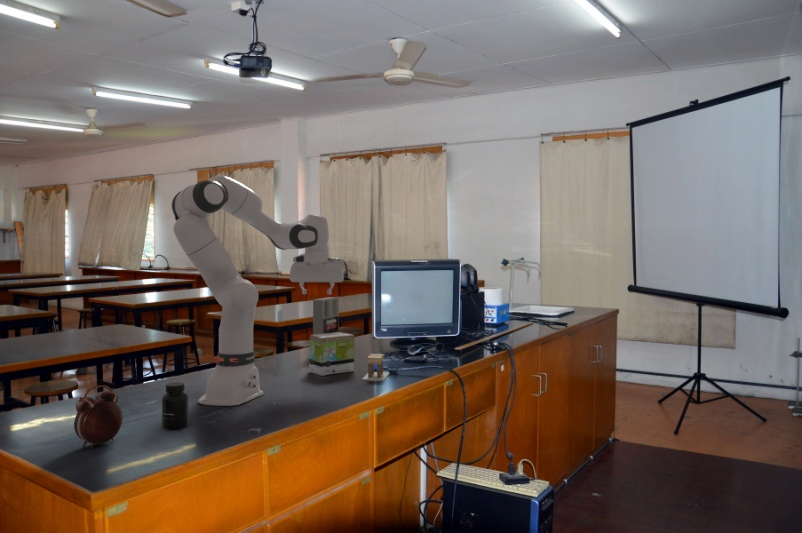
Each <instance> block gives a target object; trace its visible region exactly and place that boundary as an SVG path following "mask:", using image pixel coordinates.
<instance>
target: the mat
mask: <svg viewBox="0 0 802 533" xmlns="http://www.w3.org/2000/svg"><path fill="white" fill-rule="evenodd" d="M389 376H390V372H385V371H383V374H382V375H381V377H380V378H377V371H374V374H372V377H368V372H367V373H366V374H365V375H364V377H362V381H370V382H371V381H372V382H384V381H385V380H386V379H387V378H388V377H389Z"/></svg>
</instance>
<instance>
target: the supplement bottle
mask: <svg viewBox="0 0 802 533" xmlns="http://www.w3.org/2000/svg"><path fill="white" fill-rule="evenodd" d="M165 392H166V393H164V394H163V395H162V397H161V428H162V429H164V430H166V431H178V430H183V429H185V428H187V427H188V424H189V395H188V393H187V392H185V383H184V382H180V381H177V382H175V381H174V382H168V383H166V384H165Z"/></svg>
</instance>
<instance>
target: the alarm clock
mask: <svg viewBox="0 0 802 533" xmlns="http://www.w3.org/2000/svg"><path fill="white" fill-rule="evenodd" d="M102 387H103V388H106V389H107V390H106V391H104V392H102V393H101V394H100V395H99V396H95V399H94V398H93V397H90V396H88V394H89V392H90V391H92V390H95V389H98V388H102ZM118 401H119V396H118V394H117V393H116V392H115V390H114V388H111V387H110V386H108V384H107V385H106V384H101V385H95V386H93V387H91V388H89V389H87V391H85V394H84V396H83V397H82V396H80V397H79V400H77V402H75V403H76V404H75V410H76V414H75V416H74V421H73V422H74V423H73V427H74V428H73V429H74V431H75V434H76V436H77V437H78V438H79V439H81V440H82V441H84V443H83V446H82V448H84V449H85V447H86V445H87V444H88V443H89V444H91V446H90V449H93V446H94V445H95V444H96V445H102V444H105V443H108V442H109V441H111V440H112V442H115V441H116V439H114V438H115V436H116V435H117V434H118V433H119V431H120V429H121V427H122V423H123V411H122V410H121V409H122V408H120V406H119V405H118V404H117V403H118Z"/></svg>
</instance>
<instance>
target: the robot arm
mask: <svg viewBox="0 0 802 533" xmlns="http://www.w3.org/2000/svg"><path fill="white" fill-rule="evenodd" d="M220 209H221V210H223V211H224V212H226V213H228V214H230V215H231V216H232V217H234V218H236V219H239V220H240V221H242V222H245V223H246V224H249V225H250V226H251V227H253V228H255V229H256V230H258V231H259V232H260V233H262V234H264V235H265V236H266V237H267V238H268V240H270V242H271V243H272V245H273V246H274V247H275V248H277V249H279V250H282V251H285V250H302V249H304V253H301V254H299V255H296V256H294V257H292V262H293V263H292V264H291V266H290V270H289V271H290V272H289V280H290V281H291V282H292V283H299V287H300V289H301V293H302V295H306V294H308V293H307V291H308V290H307V289H306V288H304V284H305V283H329V285H330V287H329V288H328V289H327V290H326V295H332V290H333V288H334V286H335V283H342V282H344V279H345V278H344V269H345V261H344V260H343V259H342V258H340V257H329V256H330V255H329V246H328V243H329V242H328V241H329V238H330V237H329V224H328V220H327V218H326V217H324V216H322V215H320V214H307V215H306V216H305V217H304V218H302V219H301V220H299V221H295V223H294V222H293V223H286V222H283V223H281V222H278V221H277V220H275V219H273V218H271V217H270V216H268V215H267V214H265V212H263V211H262V209H263V200H262V197H260V196H259V194H258V193H257V192H256V191H254V190H253V189H251V188H249V187H248V186H246V185H245V184H243V183H242V182H239V181H238V180H235V179H234V178H231V177H229V176H226V175H224V174H223V175H221V174H220V175H219V174H218V175H217V176H215V177H213V178H212V179H211V180H210V179H205V180H200V181H198V182H196V183H195V184H190V185H188V186H187V187H185V188H184V189H182V190H181V191H178V193H176V194H175V195H174V197H173V199H172V200H171V211H172V213H173V215H174V219H175V223H174V225H173V232H174V234H175V237H176V239H177V242H178V244H179V246H180V247H181V248H182V250H183V252H184V253H185V255H186V256H187V258H188V259H189V260H190V262H191V263H192V265H193V266H194V267H195V269H196V270H197V272H198V273H199V274H200V276H201V277H202V279H203V281H204V282H205V284H206V286H207V287H208V289H209V291H210V293H211V294H212V295H213V297H214V299H215V300H216V301H217V303H218V304H219V305H220V306H221V307H222V308H221V309H222V310H221V317H220V324H219V328H218V353H217V355H216V356H213V359H212V362H213V363H215V364H216V366H215V367H214V370H213V371H212V372H211V375H210V376H209V379H208V380H207V381H206V383H205V384H206V386H205V393H204V394H203V395H201V397H200V398H199V399H198V401H197V403H198V404H201V405H206V406H223V407H225V406H227V407H228V406H229V407H230V406H239V405H241V404H245V403H247V402H249V401H251V400H253V399H256V398H258V397H261V396H263V395H264V391H263V390H261V387H260V376H259V369H258V368H257V366H256V365H255V356H256V354H255V350H254V325H255V324H254V323H255V318H256V311H257V305H258V304H257V303H258V302H259V292H258V289H257V288H256V286H255V285H254V284H253V283H252V282H251V281H249V280H248V279H244V278H243V277H242V276H241V274H240V273H239V271H238V270H237V268H236V266H235V264H234V262H233V259H232V257H231V255H230V254H229V252H228V251H227V249H226V248H225V247H224V244H222V243H221V241H220V239H219V237H217V235H216V234H215V232H214V231H213V229H212V228H211V227H210V225H209V222H208V221H209V220H208V217H209V216H211V215H212V214H214V213H217V212H218V211H219V210H220Z"/></svg>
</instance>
